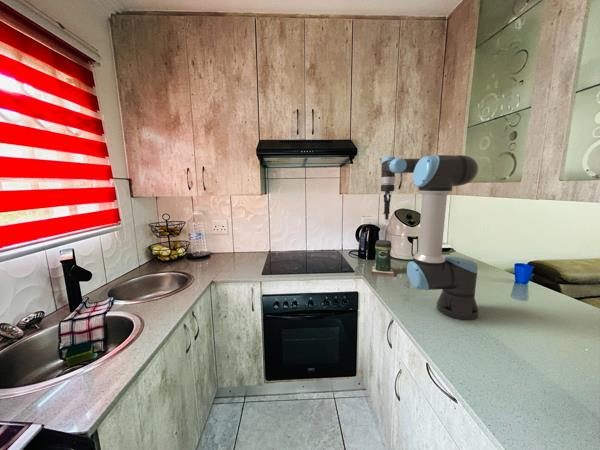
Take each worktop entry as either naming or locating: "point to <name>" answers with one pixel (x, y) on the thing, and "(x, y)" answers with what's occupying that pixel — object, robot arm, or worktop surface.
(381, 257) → the coffee jar
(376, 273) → the tan flat block
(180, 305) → the worktop surface
